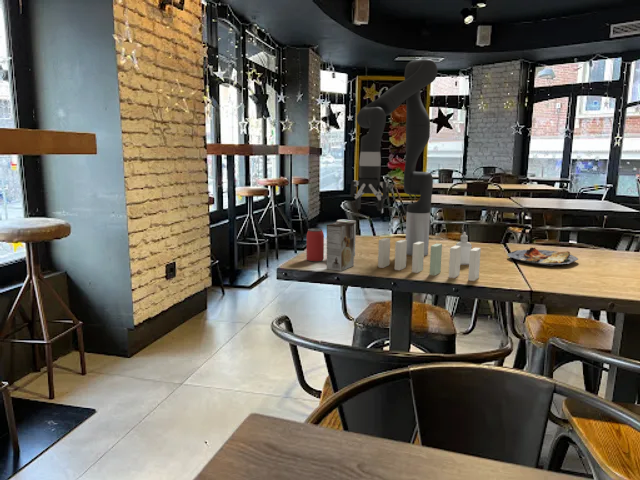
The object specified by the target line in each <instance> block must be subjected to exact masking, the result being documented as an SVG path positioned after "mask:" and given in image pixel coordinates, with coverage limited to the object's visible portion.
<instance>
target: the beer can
mask: <svg viewBox="0 0 640 480" xmlns="http://www.w3.org/2000/svg"><path fill="white" fill-rule="evenodd" d="M324 235H325V234H324V231H323V228H319V227H318V228H316V227H315V228H308V229H307V233H306V260H307V261H308V262H311V263H318V262H322V261H324V257H325V255H324V254H325V247H324V245H325V236H324Z"/></svg>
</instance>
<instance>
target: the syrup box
mask: <svg viewBox="0 0 640 480" xmlns="http://www.w3.org/2000/svg"><path fill="white" fill-rule="evenodd" d="M336 222H349V223H354V257H355V256H356V233H357V232H356V228H357V226H356V225H357V221H356V220H350V219H343V218H342V219H337V220H336Z"/></svg>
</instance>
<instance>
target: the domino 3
mask: <svg viewBox="0 0 640 480" xmlns="http://www.w3.org/2000/svg"><path fill="white" fill-rule="evenodd" d="M424 259H425V257H424V242H416V243H414V244H413V256H412V258H411V260H412V261H411V273H415V274H417V273H420V272H422V271H423V270H424Z"/></svg>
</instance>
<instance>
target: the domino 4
mask: <svg viewBox="0 0 640 480" xmlns="http://www.w3.org/2000/svg"><path fill="white" fill-rule="evenodd" d="M460 258H461V246H456V244H454V245H453V246H451V247H450V248H449V261H448V264H449V265H448V278H451V279H456V278H457V277H459V276H460V275H461V274H460V272H461V265H460Z"/></svg>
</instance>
